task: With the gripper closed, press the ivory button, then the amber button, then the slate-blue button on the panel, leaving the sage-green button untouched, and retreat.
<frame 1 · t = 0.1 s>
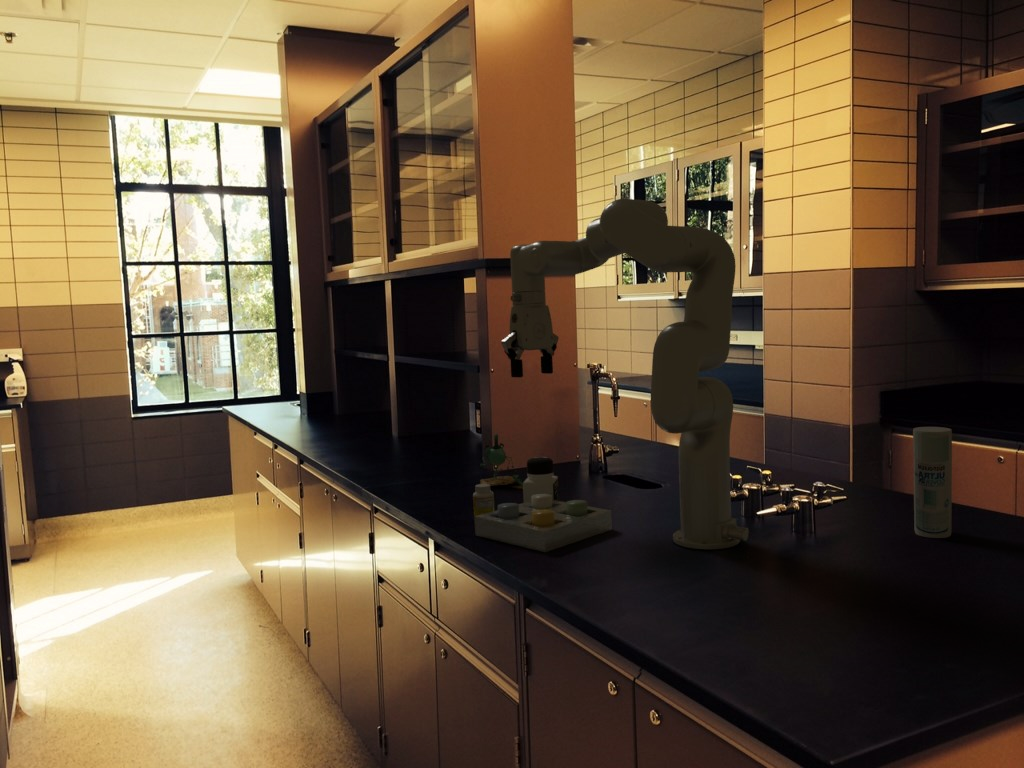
hand: (532, 375, 188), 31 cm above the worktop, fingers open, 9 cm apart
ivory button: (542, 505, 177), point 4 cm above the worktop, slide at 0.0 cm
spray can: (932, 534, 156), on the worktop
medicine bottle: (542, 510, 190), on the worktop
sage button: (577, 511, 170), point 4 cm above the worktop, slide at 0.0 cm
slate button: (508, 514, 170), point 4 cm above the worktop, slide at 0.0 cm
supplement bottle: (484, 523, 181), on the worktop
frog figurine: (500, 486, 220), on the worktop
panel: (543, 532, 171), on the worktop
amber button: (543, 522, 163), point 4 cm above the worktop, slide at 0.0 cm
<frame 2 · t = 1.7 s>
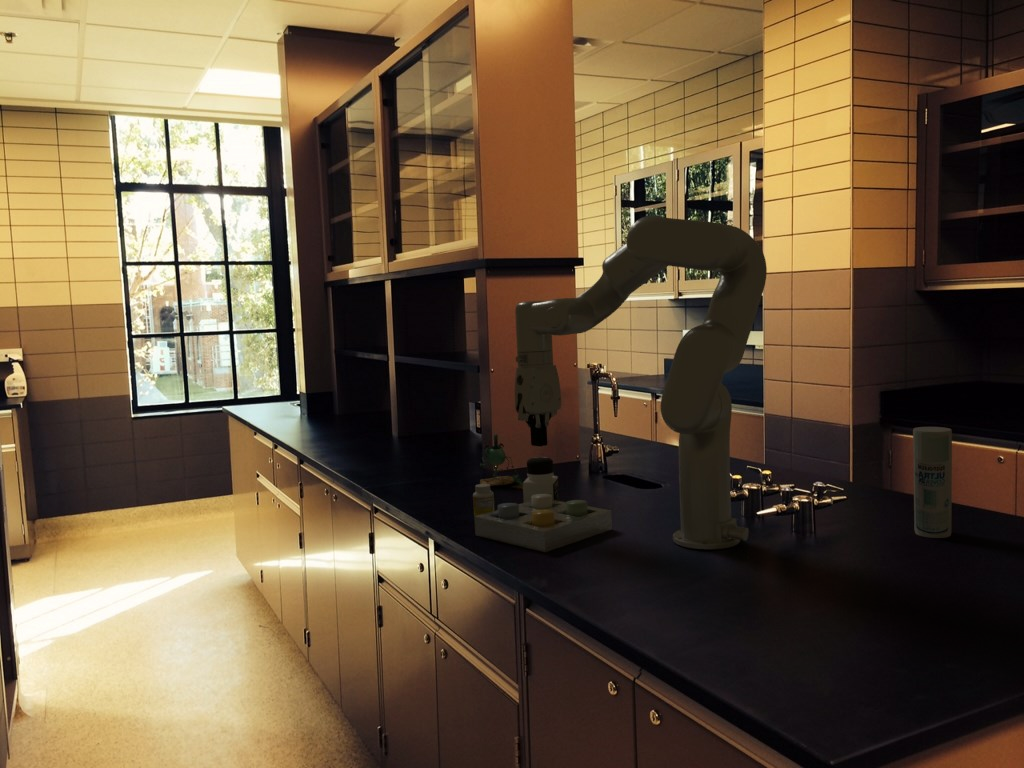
hand: (539, 445, 176), 17 cm above the worktop, fingers closed
nothing on the worktop moved.
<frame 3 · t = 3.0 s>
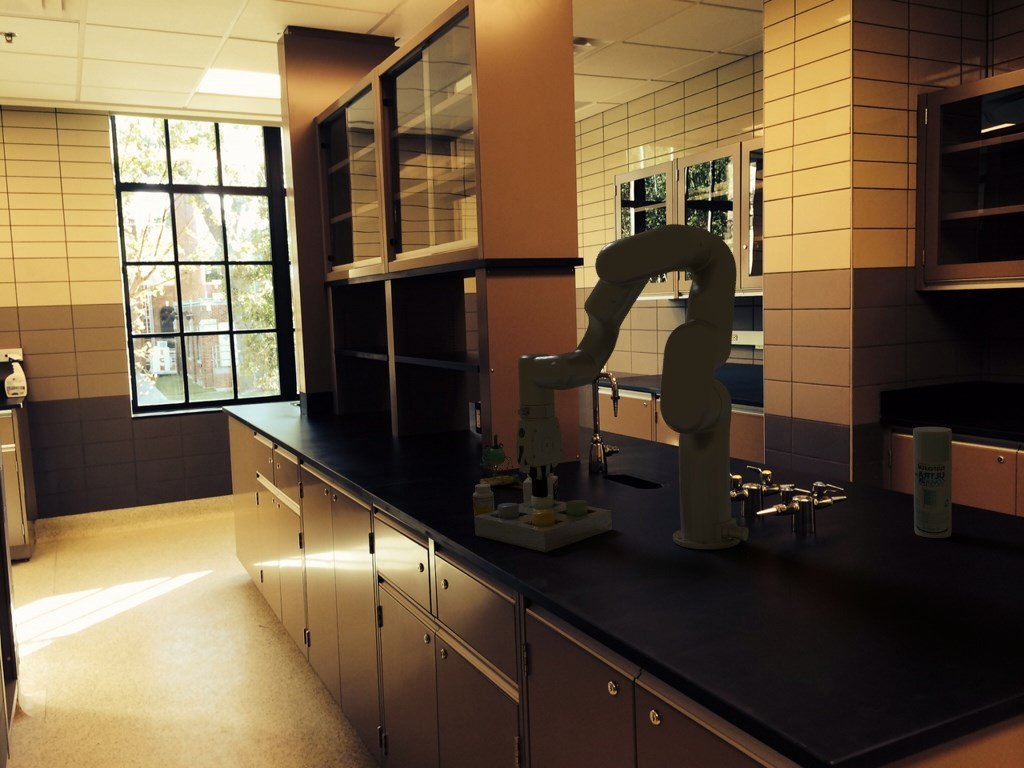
hand: (540, 496, 177), 6 cm above the worktop, fingers closed
ivory button: (542, 505, 177), point 4 cm above the worktop, slide at 0.1 cm, touching gripper
everything else where it was.
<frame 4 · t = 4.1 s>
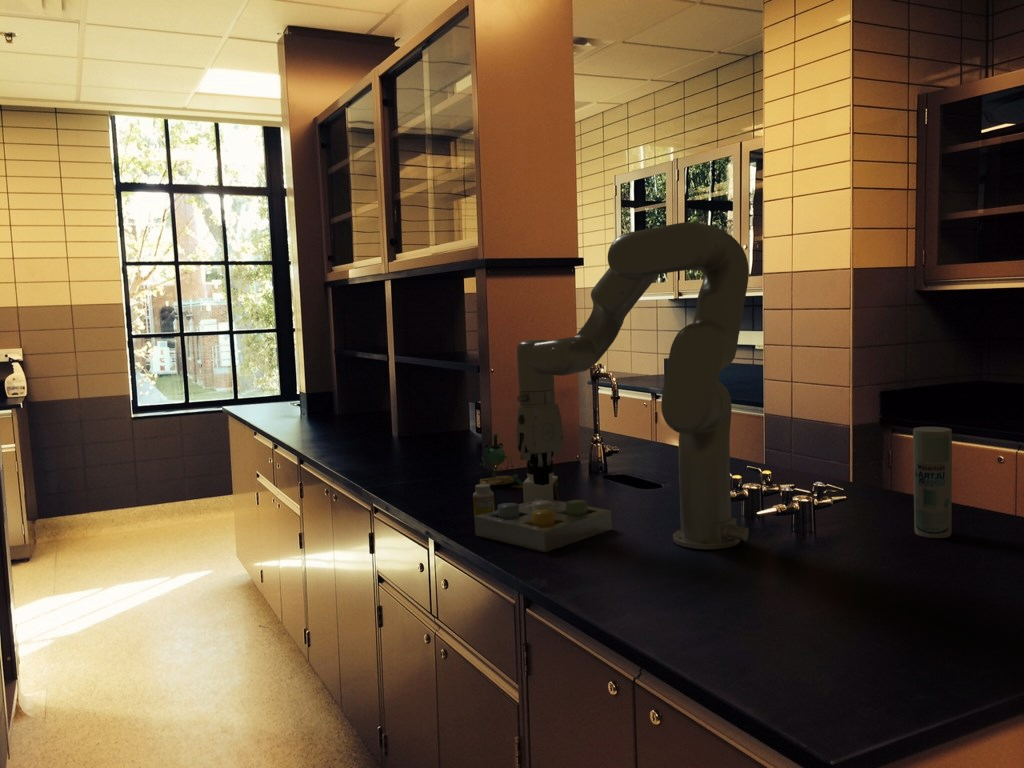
hand: (541, 483, 176), 9 cm above the worktop, fingers closed
ivory button: (542, 512, 177), point 3 cm above the worktop, slide at 1.5 cm
everything else where it was.
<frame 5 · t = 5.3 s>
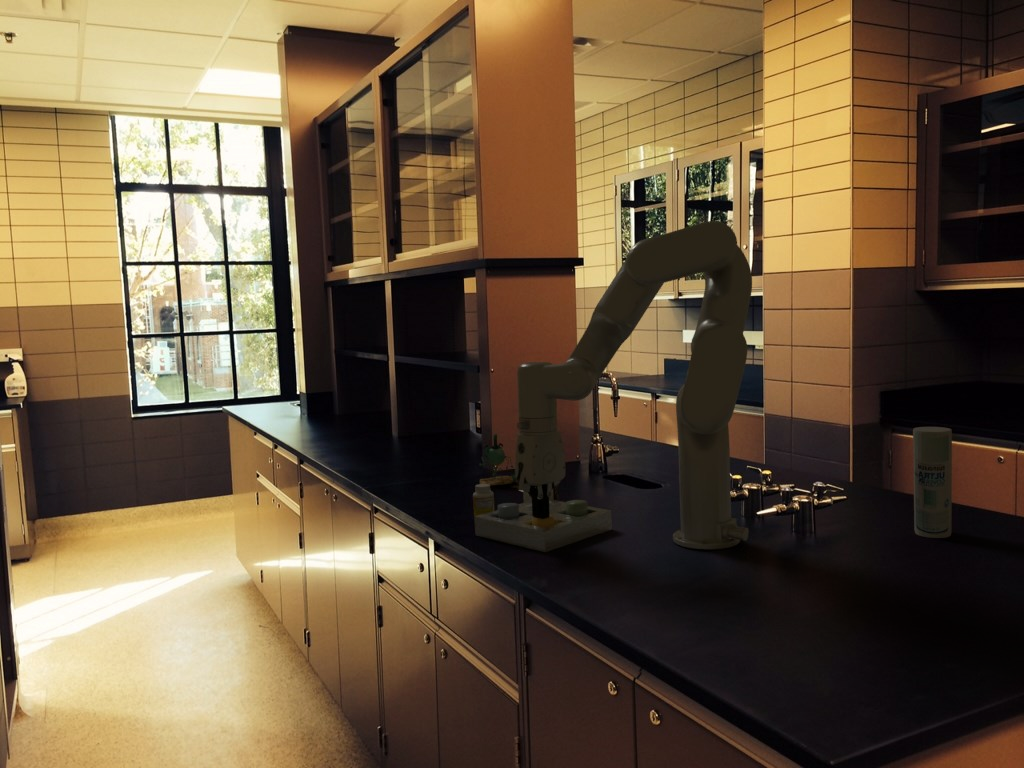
hand: (540, 516, 163), 5 cm above the worktop, fingers closed
amber button: (543, 527, 163), point 3 cm above the worktop, slide at 1.0 cm, touching gripper
everything else where it was.
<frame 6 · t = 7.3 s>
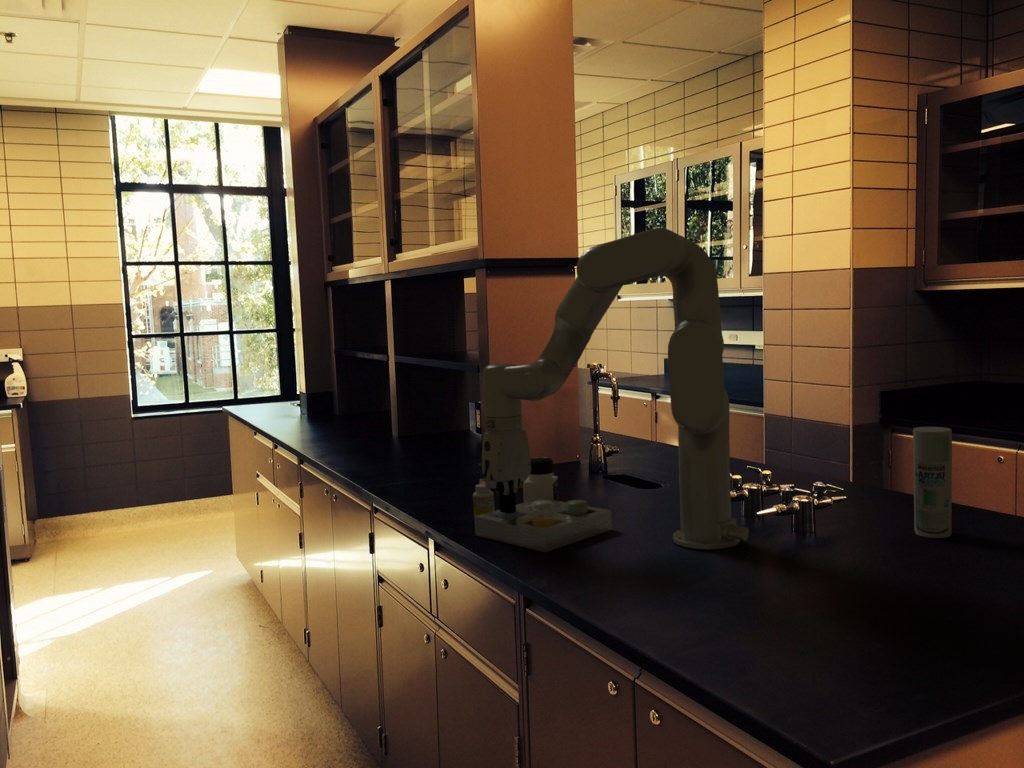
hand: (507, 511, 170), 5 cm above the worktop, fingers closed
slate button: (508, 521, 171), point 3 cm above the worktop, slide at 1.4 cm, touching gripper
amber button: (543, 529, 163), point 3 cm above the worktop, slide at 1.5 cm
everything else where it was.
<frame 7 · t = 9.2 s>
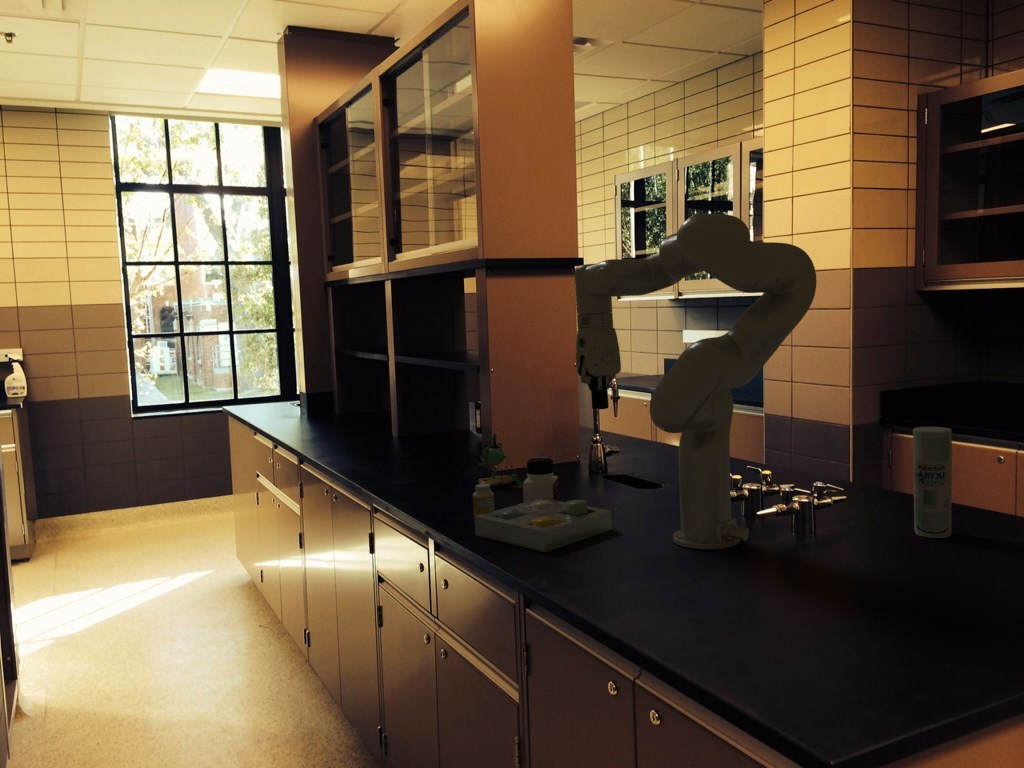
hand: (600, 408, 176), 24 cm above the worktop, fingers closed
slate button: (508, 521, 171), point 3 cm above the worktop, slide at 1.4 cm
everything else where it was.
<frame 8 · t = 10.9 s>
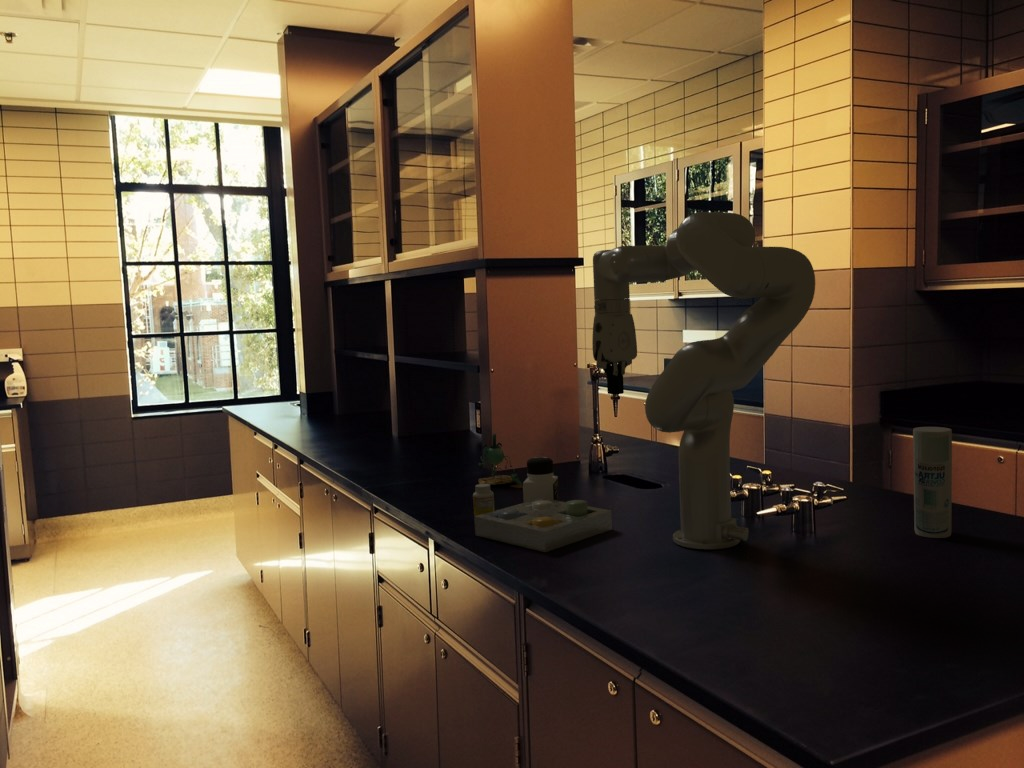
hand: (615, 393, 178), 27 cm above the worktop, fingers closed
at the end: ivory button slide at 1.5 cm; amber button slide at 1.5 cm; slate button slide at 1.4 cm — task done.
